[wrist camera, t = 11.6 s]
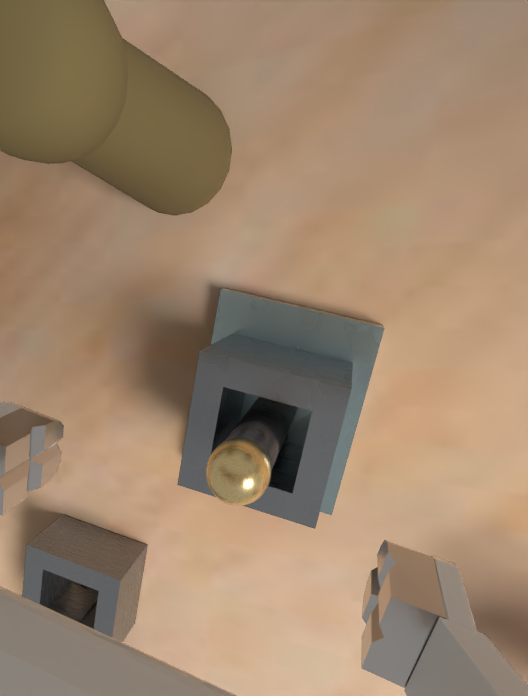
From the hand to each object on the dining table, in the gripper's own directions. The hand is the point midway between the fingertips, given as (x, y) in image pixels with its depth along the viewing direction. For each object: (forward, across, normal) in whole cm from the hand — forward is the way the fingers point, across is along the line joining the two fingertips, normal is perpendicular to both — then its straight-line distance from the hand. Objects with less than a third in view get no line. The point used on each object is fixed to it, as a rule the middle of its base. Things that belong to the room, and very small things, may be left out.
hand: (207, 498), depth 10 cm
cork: (+13, +9, -9) cm, 18 cm away
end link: (+11, 0, +2) cm, 11 cm away
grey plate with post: (+12, 0, +2) cm, 12 cm away
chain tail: (+11, +9, +19) cm, 23 cm away
